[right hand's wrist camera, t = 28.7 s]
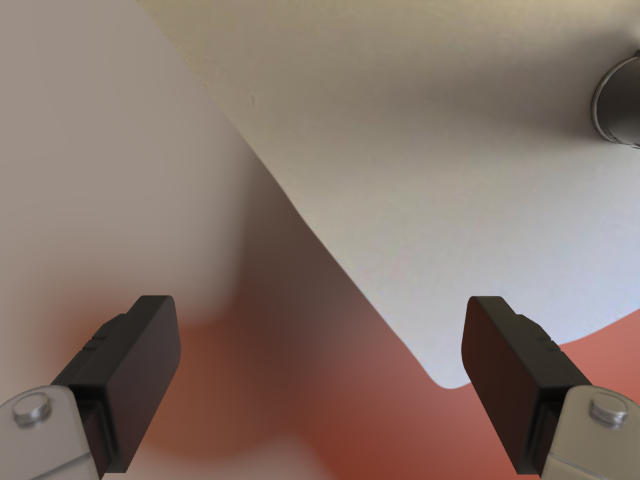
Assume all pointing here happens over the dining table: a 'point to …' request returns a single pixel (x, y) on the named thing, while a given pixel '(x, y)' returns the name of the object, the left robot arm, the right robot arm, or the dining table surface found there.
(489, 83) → the dining table surface
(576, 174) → the dining table surface
